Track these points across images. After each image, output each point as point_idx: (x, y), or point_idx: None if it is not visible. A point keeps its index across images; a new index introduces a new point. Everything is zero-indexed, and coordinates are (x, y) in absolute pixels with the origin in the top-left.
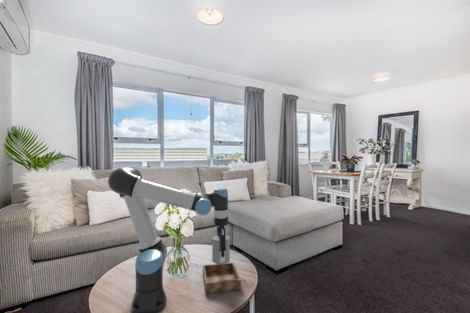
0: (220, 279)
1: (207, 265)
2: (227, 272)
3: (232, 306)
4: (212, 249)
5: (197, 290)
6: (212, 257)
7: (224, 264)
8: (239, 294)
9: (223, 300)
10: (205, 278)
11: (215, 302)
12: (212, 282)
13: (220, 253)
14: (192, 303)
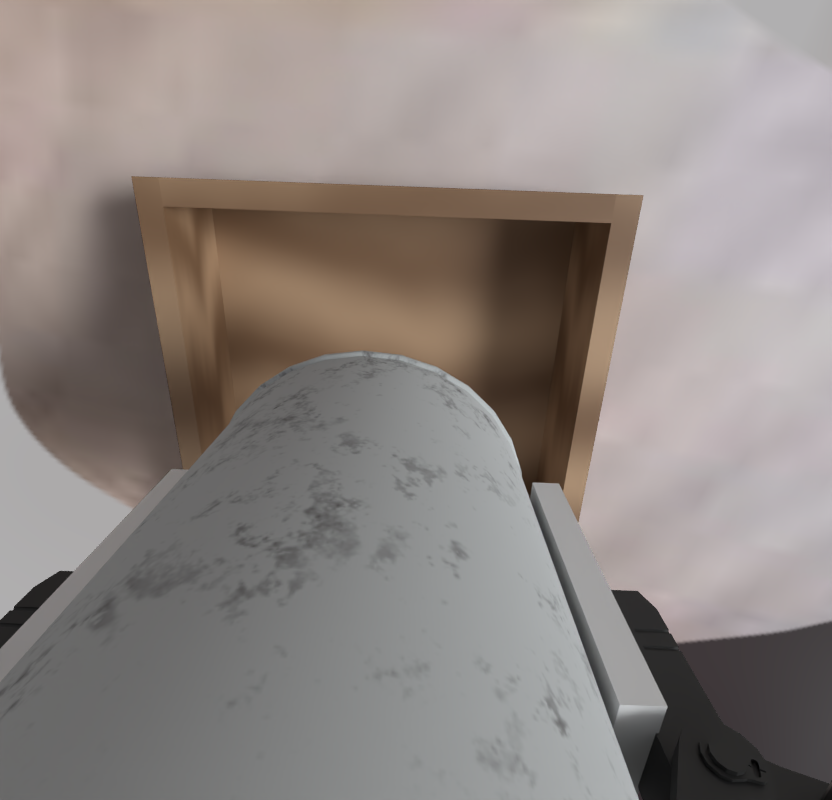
0: None
1: (606, 268)
2: None
3: (26, 392)
4: (313, 466)
5: (280, 94)
6: (350, 375)
7: (563, 479)
8: None
9: (102, 339)
10: (259, 191)
11: (72, 264)
12: (157, 272)
13: (46, 613)
14: (46, 8)
